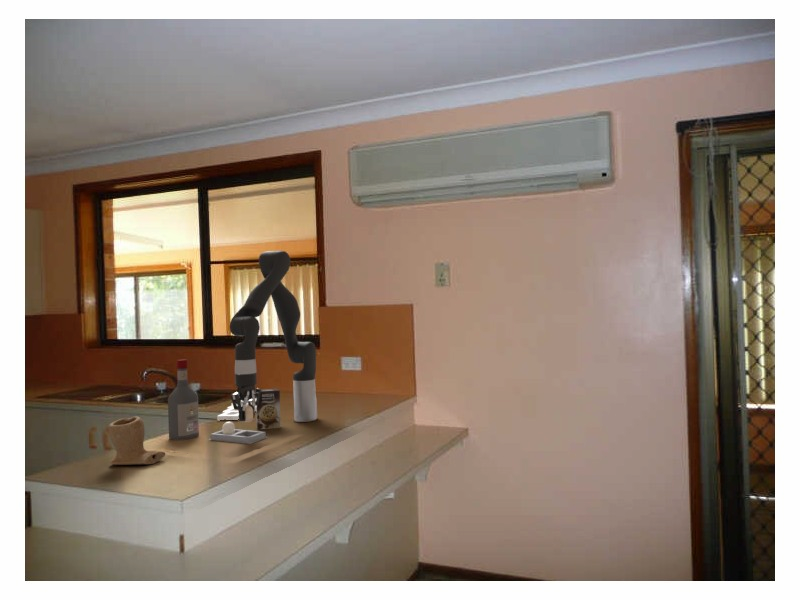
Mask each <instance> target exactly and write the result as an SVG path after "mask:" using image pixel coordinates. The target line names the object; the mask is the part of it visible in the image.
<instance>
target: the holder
mask: <svg viewBox="0 0 800 600" xmlns="http://www.w3.org/2000/svg"><path fill="white" fill-rule="evenodd" d="M241 402H243V401H241ZM255 402H256V398H255ZM230 404H231V405H230V406H227V407H226V409H224V410H223V411H222V413H221V414H218V415H217V421H218V422H221V421H220V420H224V419H226V420H238V419H239V411H238V410H235V409H234V407H233V403H230ZM246 405H248V403H247V404H246ZM237 406H238V405H237ZM241 407H242V404H241ZM255 411H256V407H255ZM238 421H239V420H238Z"/></svg>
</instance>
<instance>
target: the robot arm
mask: <svg viewBox="0 0 800 600" xmlns="http://www.w3.org/2000/svg"><path fill="white" fill-rule="evenodd" d="M258 265H259V270H260V272H261V274H262V276H263V280H262V281H261V282H259V283H258V284H257V285H256V286H255V287H254V288H253V289H252V290H251V291H250V292H249V294H248V296H247V298H246V301H245V303H244V304H243V306H242V307H241V308H239V310H238V311H237V312H236V313H235V314H234V315H233V316H232V318H231V320H230V322H229V331H230V333H231V334H232V335H233V336H236V337H244V339H243V341H242V342H239V343H237V344H235V347H234V352H235V353H234V359H235V360H234V362H235V363H234V385H235V386H236V387H237V388H236V392H234V393H231V395H230V398H231V402H232V403H233V407H234V409H235V410H238V411H239V420H238V421H239V422H241V421H245V411H244V410H245V406H246V404H247V403H248V405H249V406H251V407H252V408H253V419H255V415H256V412H255V407H256V405H258V404H259V399H260V393H261V390H262V389H261V388H256V385H257V384H258V379H257V378H258V377H257V372H258V371H257V362H256V360H257V359H256V347H257V346H256V345H257V342H258V336H259V333H260V322H259V320H258V319H257V318H258V317H259V316H261V315H262V313H263V312H264V310H265V308H266V305H267V303H268V301H269V299H270V297H271V299H272V302H273V306H274V308H275V312H276V315H277V318H278V321H279V324H280V327H281V331H282V333H283V337H284V342H285V343H284V344H285V348H286V351H287V355H288V358H289V360H290V362H291V363H293V364H303V365H302V366H303V367H302V369H300V370H298V371H296V372H294V373H293V374H292V383H293V384H292V386H293V387H292V388H293V418H294V421H295V422H297V423H305V422H307V423H308V422H314V421H316V420H317V419H318V403H317V400H318V399H317V396H316V392H317V391H316V372H317V349H316V345H315V343H314V342H312V341H299V340H298V337H297V333H296V332H297V327H298V325H299V322H300V319H301V311H300V307H299V304H298V300H297V299H296V297H295V295H294V294H293V293H292V292H291V290H289V289H288V288H287V286H285V285H284V284H283V283H282V280H283V278H284V277H285V276H286V274H287V273H288V272H289V270H290V267H291V257H290V255H289V253H288V252H287V251H285V250H268V251H263V252H261V253H260V254H259V257H258ZM255 398H256V402H255ZM241 401H243V402H241ZM232 403H231V404H232ZM241 404H242V407H241ZM237 405H238V406H237Z"/></svg>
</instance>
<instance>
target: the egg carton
mask: <svg viewBox="0 0 800 600" xmlns="http://www.w3.org/2000/svg"><path fill="white" fill-rule="evenodd" d="M265 439H268V436H266V431H260V430H251V429H247V430H246V429H237V428H235V433H234V434H231V435H226V434H222V429H221V430H219V431H218V430H217V431H216V432H213V433H210V438H209V439H208V440H209V441H214V442H215V441H216V442H227V443H235V444H236V443H237V444H247V445H252V444H254V443H256V442H259V441H262V440H265Z"/></svg>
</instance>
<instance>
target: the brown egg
mask: <svg viewBox="0 0 800 600" xmlns="http://www.w3.org/2000/svg"><path fill="white" fill-rule="evenodd" d="M244 411H245V421H240V423H242V424H246V423H253V422H254V418H253V408H252V407H251V406H249V405H246V406H245V410H244Z"/></svg>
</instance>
